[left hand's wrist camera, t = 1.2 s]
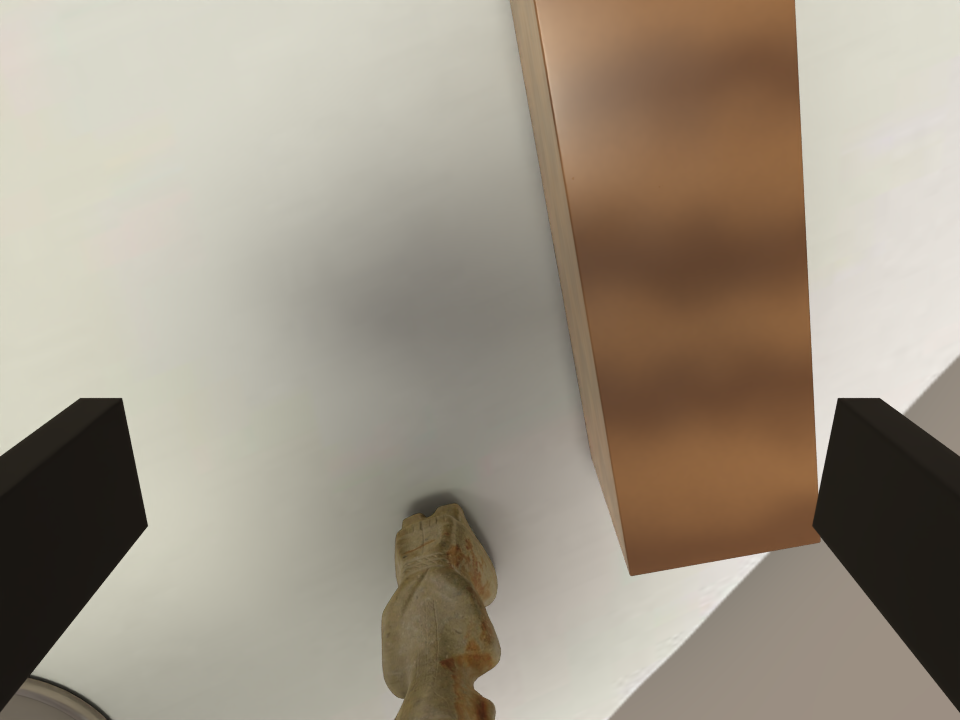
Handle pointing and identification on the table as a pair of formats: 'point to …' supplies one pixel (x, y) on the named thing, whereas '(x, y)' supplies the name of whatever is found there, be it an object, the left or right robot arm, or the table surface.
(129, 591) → the table surface
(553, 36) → the box
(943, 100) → the table surface
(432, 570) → the sculpture
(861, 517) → the left robot arm
